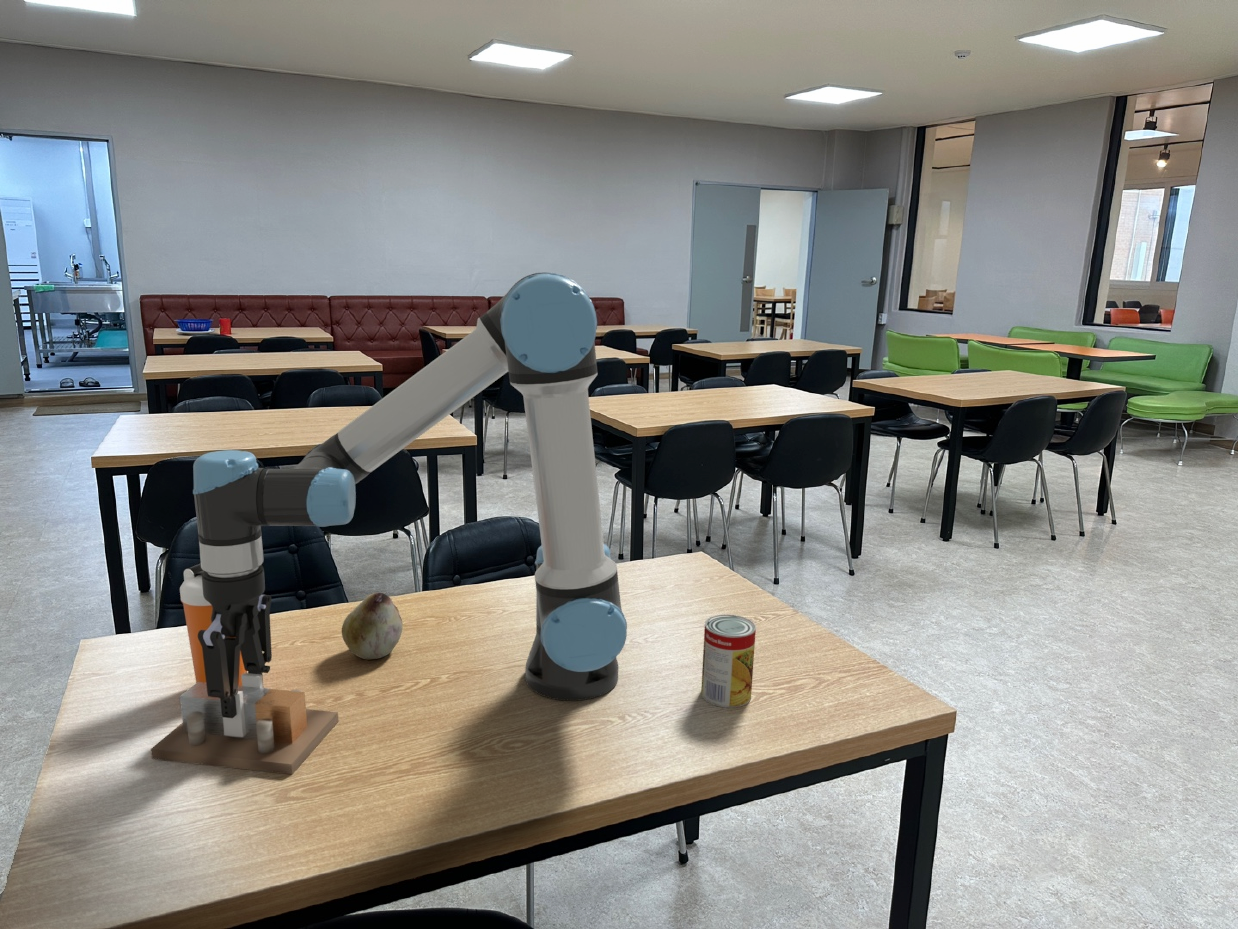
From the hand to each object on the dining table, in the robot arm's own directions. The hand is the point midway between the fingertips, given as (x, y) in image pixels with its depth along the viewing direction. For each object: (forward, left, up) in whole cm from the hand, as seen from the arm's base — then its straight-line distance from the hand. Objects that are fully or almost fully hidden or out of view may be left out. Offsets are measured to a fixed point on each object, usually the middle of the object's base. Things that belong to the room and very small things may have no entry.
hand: (245, 725), depth 115 cm
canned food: (-66, -25, -2) cm, 71 cm away
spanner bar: (0, 0, -1) cm, 1 cm away
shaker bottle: (+12, -13, -2) cm, 17 cm away
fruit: (-6, -28, -2) cm, 28 cm away
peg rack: (0, 0, -2) cm, 2 cm away
